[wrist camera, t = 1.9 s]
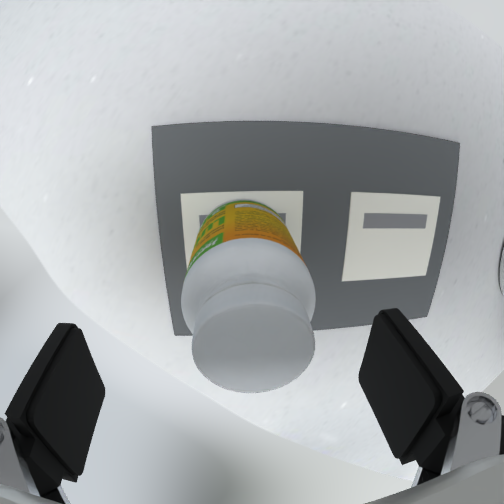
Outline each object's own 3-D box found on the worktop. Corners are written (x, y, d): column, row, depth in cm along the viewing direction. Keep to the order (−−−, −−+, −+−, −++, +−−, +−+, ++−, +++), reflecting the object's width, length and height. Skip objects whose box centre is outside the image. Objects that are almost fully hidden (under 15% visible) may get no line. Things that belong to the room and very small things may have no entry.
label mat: (458, 142, 16) (460, 143, 16) (426, 315, 22) (427, 317, 22) (152, 126, 15) (151, 126, 15) (175, 334, 21) (174, 336, 21)
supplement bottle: (215, 183, 17) (196, 253, 8) (302, 216, 18) (367, 310, 9) (186, 265, 19) (154, 385, 10) (266, 292, 20) (291, 414, 11)
